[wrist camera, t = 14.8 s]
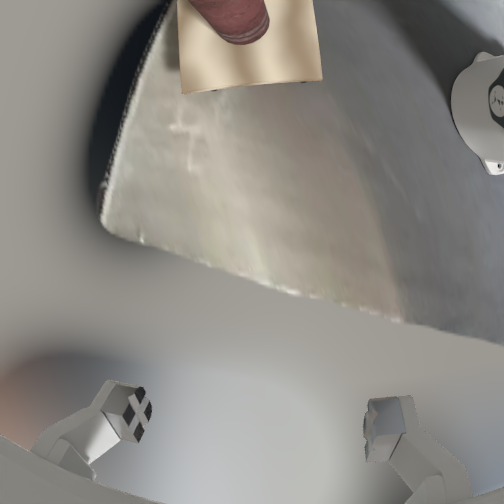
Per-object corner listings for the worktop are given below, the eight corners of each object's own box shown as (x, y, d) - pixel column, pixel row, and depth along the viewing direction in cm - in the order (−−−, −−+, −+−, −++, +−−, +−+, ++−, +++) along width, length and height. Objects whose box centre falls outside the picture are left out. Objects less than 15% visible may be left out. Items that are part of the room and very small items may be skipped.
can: (218, 2, 29) (176, -54, 16) (272, 3, 28) (254, -60, 15) (212, 45, 31) (163, 2, 18) (267, 47, 30) (245, -3, 17)
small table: (306, -12, 32) (305, -36, 26) (319, 89, 37) (322, 78, 31) (194, 2, 35) (176, -17, 28) (200, 99, 40) (181, 93, 33)
